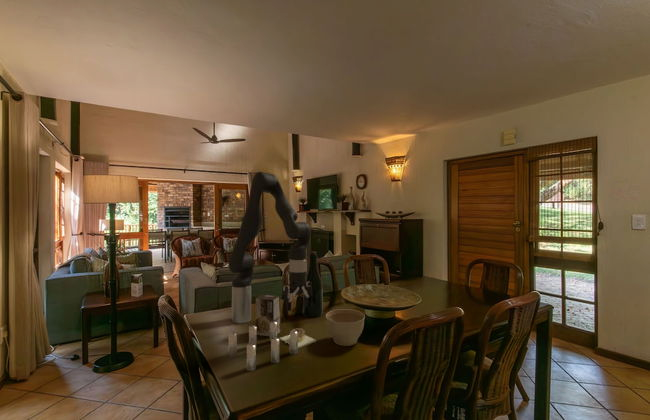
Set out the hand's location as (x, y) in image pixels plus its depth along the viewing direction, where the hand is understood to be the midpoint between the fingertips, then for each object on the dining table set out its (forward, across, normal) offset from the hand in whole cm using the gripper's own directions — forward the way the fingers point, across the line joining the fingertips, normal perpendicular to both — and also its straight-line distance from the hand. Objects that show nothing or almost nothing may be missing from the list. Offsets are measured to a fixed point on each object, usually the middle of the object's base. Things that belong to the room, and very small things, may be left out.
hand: (297, 308), depth 128 cm
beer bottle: (+14, -26, -21) cm, 36 cm away
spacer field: (+13, +17, +2) cm, 21 cm away
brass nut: (+13, 0, 0) cm, 13 cm away
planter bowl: (+13, -14, +14) cm, 24 cm away
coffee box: (+14, +5, -15) cm, 21 cm away
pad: (+13, 0, 0) cm, 13 cm away
